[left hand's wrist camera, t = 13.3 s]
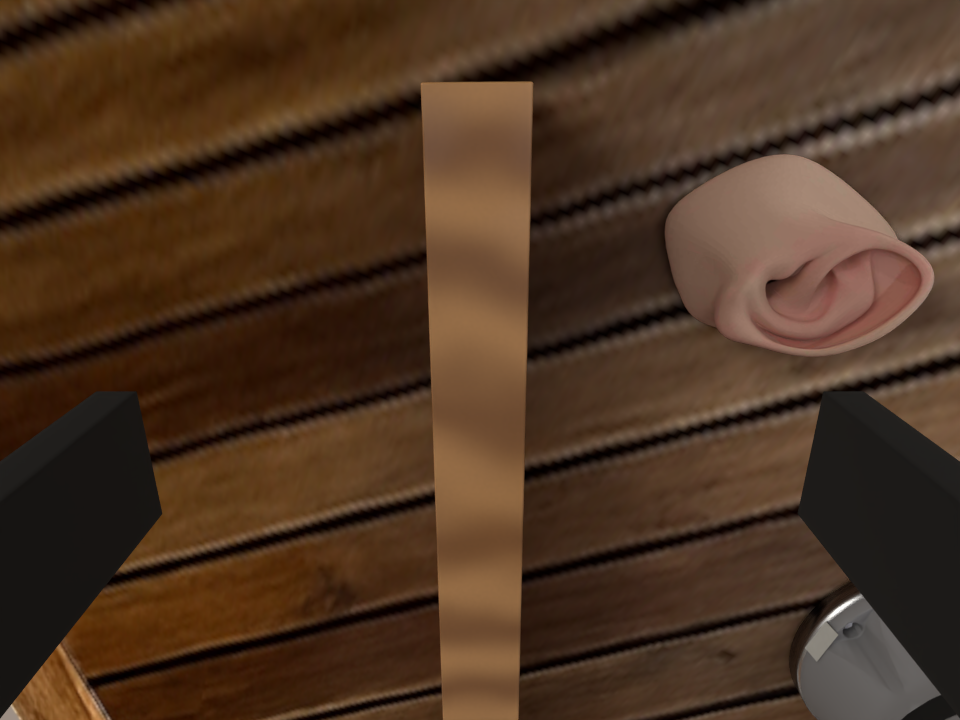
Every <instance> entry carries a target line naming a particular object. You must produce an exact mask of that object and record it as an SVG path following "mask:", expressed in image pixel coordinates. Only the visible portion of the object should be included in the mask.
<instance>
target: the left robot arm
mask: <svg viewBox="0 0 960 720" xmlns="http://www.w3.org/2000/svg"><path fill="white" fill-rule="evenodd" d="M161 515H162V510H161V506H160V501H159V496H158V491H157V487H156V482H155V477H154V472H153V468H152V463H151V458H150V453H149V449H148V444H147V439H146V434H145V430H144V425H143V420H142V415H141V411H140V406H139V401H138V396H137V392H95V393H94V394H92V395H91V396H90V397H88V398H87V399H86V400H84V401H83V402H81V403H80V404H79V405H77V406H76V407H75V408H73V409H72V410H70V411H69V412H68V413H66V414H65V415H64V416H62V417H61V418H59V419H58V420H57V421H55V422H54V423H53V424H51V425H50V426H48V427H47V428H46V429H44V430H43V431H42V432H40V433H39V434H37V435H36V436H35V437H33V438H32V439H31V440H29V441H28V442H26V443H25V444H24V445H22V446H21V447H20V448H18V449H17V450H16V451H14V452H13V453H11V454H10V455H9V456H7V457H6V458H5V459H3V460H2V461H0V718H1V717H2V715H3V714H4V713H5V712H6V710H7V709H8V708H9V707H10V705H11V704H12V703H13V702H14V700H15V699H16V698H17V697H18V695H19V694H20V693H21V692H22V690H23V689H24V688H25V686H26V685H27V684H28V683H29V681H30V680H31V679H32V678H33V676H34V675H35V674H36V673H37V671H38V670H39V669H40V668H41V666H42V665H43V664H44V662H45V661H46V660H47V659H48V657H49V656H50V655H51V654H52V652H53V651H54V650H55V649H56V647H57V646H58V645H59V644H60V642H61V641H62V640H63V638H64V637H65V636H66V635H67V633H68V632H69V631H70V630H71V628H72V627H73V626H74V625H75V623H76V622H77V621H78V620H79V618H80V617H81V616H82V615H83V613H84V612H85V611H86V609H87V608H88V607H89V606H90V604H91V603H92V602H93V601H94V599H95V598H96V597H97V596H98V594H99V593H100V592H101V591H102V589H103V588H104V587H105V585H106V584H107V583H108V582H109V580H110V579H111V578H112V577H113V575H114V574H115V573H116V572H117V570H118V569H119V568H120V567H121V565H122V564H123V563H124V561H125V560H126V559H127V558H128V556H129V555H130V554H131V553H132V551H133V550H134V549H135V548H136V546H137V545H138V544H139V543H140V541H141V540H142V539H143V537H144V536H145V535H146V534H147V532H148V531H149V530H150V529H151V527H152V526H153V525H154V524H155V522H156V521H157V520H158V519H159V517H160V516H161ZM798 515H799V516H800V517H801V519H802V520H803V521H804V522H805V524H806V525H807V526H808V527H809V529H810V530H811V531H812V532H813V534H814V535H815V536H816V537H817V539H818V540H819V541H820V543H821V544H822V545H823V546H824V548H825V549H826V550H827V551H828V553H829V554H830V555H831V556H832V558H833V559H834V560H835V561H836V563H837V564H838V565H839V567H840V568H841V569H842V570H843V572H844V573H845V574H846V575H847V577H848V578H849V579H850V580H851V582H852V583H853V584H854V585H855V587H856V588H857V589H858V591H859V592H860V593H861V594H862V596H863V597H864V598H865V599H866V601H867V602H868V603H869V604H870V606H871V607H872V608H873V609H874V611H875V612H876V613H877V615H878V616H879V617H880V618H881V620H882V621H883V622H884V623H885V625H886V626H887V627H888V628H889V630H890V631H891V632H892V633H893V635H894V636H895V637H896V638H897V640H898V641H899V642H900V644H901V645H902V646H903V647H904V649H905V650H906V651H907V652H908V654H909V655H910V656H911V657H912V659H913V660H914V661H915V662H916V664H917V665H918V666H919V668H920V669H921V670H922V671H923V673H924V674H925V675H926V676H927V678H928V679H929V680H930V681H931V683H932V684H933V685H934V686H935V688H936V689H937V690H938V692H939V693H940V694H941V695H942V697H943V698H944V699H945V700H946V702H947V703H948V704H949V705H950V707H951V708H952V709H953V710H954V712H955V713H956V714H957V716H958V717H959V718H960V461H958V460H957V459H955V458H954V457H953V456H951V455H950V454H949V453H947V452H946V451H944V450H943V449H942V448H940V447H939V446H938V445H936V444H935V443H933V442H932V441H931V440H929V439H928V438H927V437H925V436H924V435H923V434H921V433H920V432H918V431H917V430H916V429H914V428H913V427H912V426H910V425H909V424H907V423H906V422H905V421H903V420H902V419H901V418H899V417H898V416H896V415H895V414H894V413H892V412H891V411H890V410H888V409H887V408H885V407H884V406H883V405H881V404H880V403H879V402H877V401H876V400H874V399H873V398H872V397H870V396H869V395H868V394H866V393H865V392H823V396H822V401H821V406H820V411H819V415H818V420H817V425H816V430H815V434H814V439H813V444H812V449H811V453H810V458H809V463H808V468H807V472H806V477H805V482H804V487H803V491H802V496H801V501H800V506H799V510H798Z"/></svg>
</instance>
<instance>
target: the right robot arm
mask: <svg viewBox="0 0 960 720" xmlns="http://www.w3.org/2000/svg"><path fill="white" fill-rule="evenodd" d="M789 665H790V672H791V676H792V679H793V682H794V684H795V686H796V688H797V690H798V692H799V694H800V695H801V697H802V699H803V701H804V703H805V704H806V706H807V708H808V709H809V711H810V712H811V713H812V714H813V715H814V716H815V717H816V718H817V720H960V718H959V717H958V716H957V714H956V713H955V712H954V710H953V709H952V708H951V707H950V705H949V704H948V703H947V702H946V700H945V699H944V698H943V697H942V695H941V694H940V693H939V692H938V690H937V689H936V688H935V686H934V685H933V684H932V683H931V681H930V680H929V679H928V678H927V676H926V675H925V674H924V673H923V671H922V670H921V669H920V668H919V666H918V665H917V664H916V662H915V661H914V660H913V659H912V657H911V656H910V655H909V654H908V652H907V651H906V650H905V649H904V647H903V646H902V645H901V644H900V642H899V641H898V640H897V638H896V637H895V636H894V635H893V633H892V632H891V631H890V630H889V628H888V627H887V626H886V625H885V623H884V622H883V621H882V620H881V618H880V617H879V616H878V615H877V613H876V612H875V611H874V609H873V608H872V607H871V606H870V604H869V603H868V602H867V601H866V599H865V598H864V597H863V596H862V594H861V593H860V592H859V591H858V589H857V588H856V587H855V585H854V584H853V583H852V582H850V583H848V584H846V585H844V586H843V587H841V588H839V589H838V590H836V591H835V592H833V593H832V594H830V595H829V596H828V597H826V598H825V599H824V600H823V601H821V602H820V603H819V604H818V605H817V606H816V607H815V608H814V609H813V610H812V611H811V612H810V613H809V615H808V616H807V617H806V618H805V620H804V621H803V623H802V624H801V626H800V627H799V629H798V631H797V633H796V635H795V637H794V640H793V643H792V646H791V650H790V658H789Z"/></svg>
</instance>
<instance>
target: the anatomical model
mask: <svg viewBox="0 0 960 720" xmlns="http://www.w3.org/2000/svg"><path fill="white" fill-rule="evenodd" d="M665 242H666V249H667V254H668V258H669V263H670V267H671V272H672V275H673V279H674V282H675V285H676V287H677V289H678V292H679V294H680V297H681V299H682V301H683V303H684V305H685V307H686V309H687V310H688V312H689V313H690V314H691V315H692V316H693V317H694V318H696V319H697V320H699V321H701V322H703V323H705V324H707V325H710V326H713V327H716V328H717V329H718V330H719V332H720V333H721V334H722V335H723V336H724V337H726V338H728V339H730V340H733V341H736V342H740V343H744V344H748V345H753V346H757V347H761V348H764V349H768V350H772V351H776V352H779V353H784V354H789V355H795V356H805V357H819V356H829V355H835V354H839V353H843V352H846V351H850V350H853V349H856V348H858V347H861V346H864V345H866V344H868V343H871V342H873V341H875V340H877V339H879V338H881V337H882V336H884V335H886V334H887V333H889V332H890V331H892V330H893V329H895V328H896V327H897V326H898V325H900V324H901V323H902V322H903V321H905V320H906V319H907V318H908V317H909V316H910V315H911V314H912V313H913V312H914V311H915V310H916V309H917V308H918V307H919V306H920V305H921V304H922V302H923V301H924V300H925V299H926V297H927V296H928V294H929V293H930V291H931V289H932V287H933V283H934V272H933V269H932V267H931V265H930V263H929V262H928V261H927V259H926V258H925V257H924V256H923V255H921V254H920V253H919V252H918V251H916V250H915V249H913V248H912V247H910V246H909V245H907V244H905V243H903V242H901V241H899V240H898V238H897V236H896V234H895V232H894V231H893V229H892V228H891V227H890V225H889V224H888V223H887V221H886V220H885V219H884V218H883V217H882V216H881V215H880V214H879V213H878V212H877V210H876V209H875V208H874V207H872V206H871V205H870V204H869V203H868V202H867V201H866V200H865V199H864V198H863V197H862V196H861V195H859V194H858V193H857V192H856V191H855V190H854V189H852V188H851V187H850V186H849V185H848V184H846V183H845V182H844V181H843V180H842V179H840V178H839V177H837V176H836V175H835V174H833V173H832V172H831V171H829V170H827V169H826V168H824V167H823V166H821V165H819V164H818V163H815V162H813V161H811V160H809V159H807V158H804V157H801V156H796V155H788V154H781V155H771V156H766V157H762V158H758V159H755V160H752V161H748V162H746V163H743V164H741V165H739V166H736V167H734V168H732V169H730V170H728V171H726V172H724V173H722V174H720V175H718V176H716V177H714V178H712V179H711V180H709V181H707V182H706V183H704V184H702V185H701V186H699V187H697V188H696V189H695V190H693V191H692V192H690V193H689V194H687V195H686V196H685V197H684V198H682V199H681V200H680V201H679V202H678V203H677V204H676V205H675V206H674V207H673V208H672V210H671V211H670V213H669V215H668V217H667V220H666V223H665Z"/></svg>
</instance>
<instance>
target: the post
mask: <svg viewBox="0 0 960 720" xmlns="http://www.w3.org/2000/svg"><path fill="white" fill-rule="evenodd" d="M421 105H422V134H423V162H424V191H425V220H426V248H427V277H428V306H429V334H430V363H431V392H432V420H433V449H434V478H435V506H436V535H437V564H438V592H439V621H440V650H441V678H442V707H443V720H519V680H520V637H521V594H522V551H523V508H524V465H525V422H526V379H527V336H528V293H529V250H530V207H531V164H532V120H533V82H422V83H421Z"/></svg>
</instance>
